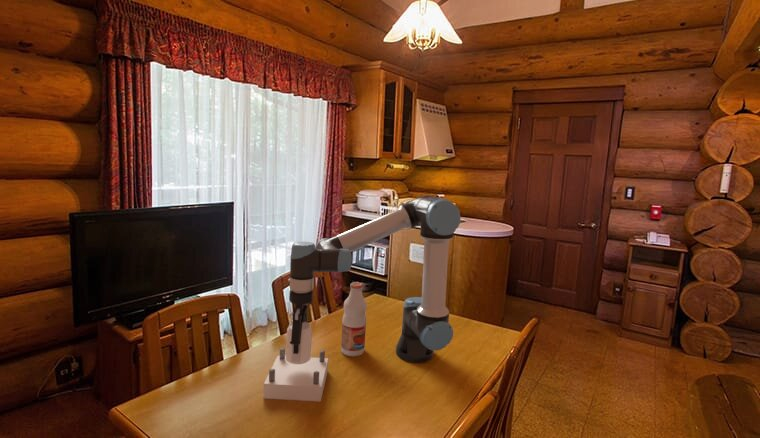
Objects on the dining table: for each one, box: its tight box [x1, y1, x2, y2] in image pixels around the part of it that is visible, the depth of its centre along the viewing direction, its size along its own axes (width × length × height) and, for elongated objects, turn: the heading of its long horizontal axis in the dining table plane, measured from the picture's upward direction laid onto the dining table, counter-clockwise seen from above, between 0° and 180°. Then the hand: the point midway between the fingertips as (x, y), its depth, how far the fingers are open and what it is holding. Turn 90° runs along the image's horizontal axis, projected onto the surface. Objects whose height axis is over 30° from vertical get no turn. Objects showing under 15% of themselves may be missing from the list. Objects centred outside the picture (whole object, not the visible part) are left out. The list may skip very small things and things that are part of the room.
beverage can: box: [285, 321, 313, 364], centre depth 132 cm, size 8×8×12 cm
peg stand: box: [263, 347, 329, 402], centre depth 134 cm, size 18×18×8 cm
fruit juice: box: [340, 281, 368, 357], centre depth 157 cm, size 9×9×28 cm
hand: (298, 354), depth 133 cm, fingers closed on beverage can, 8 cm apart
